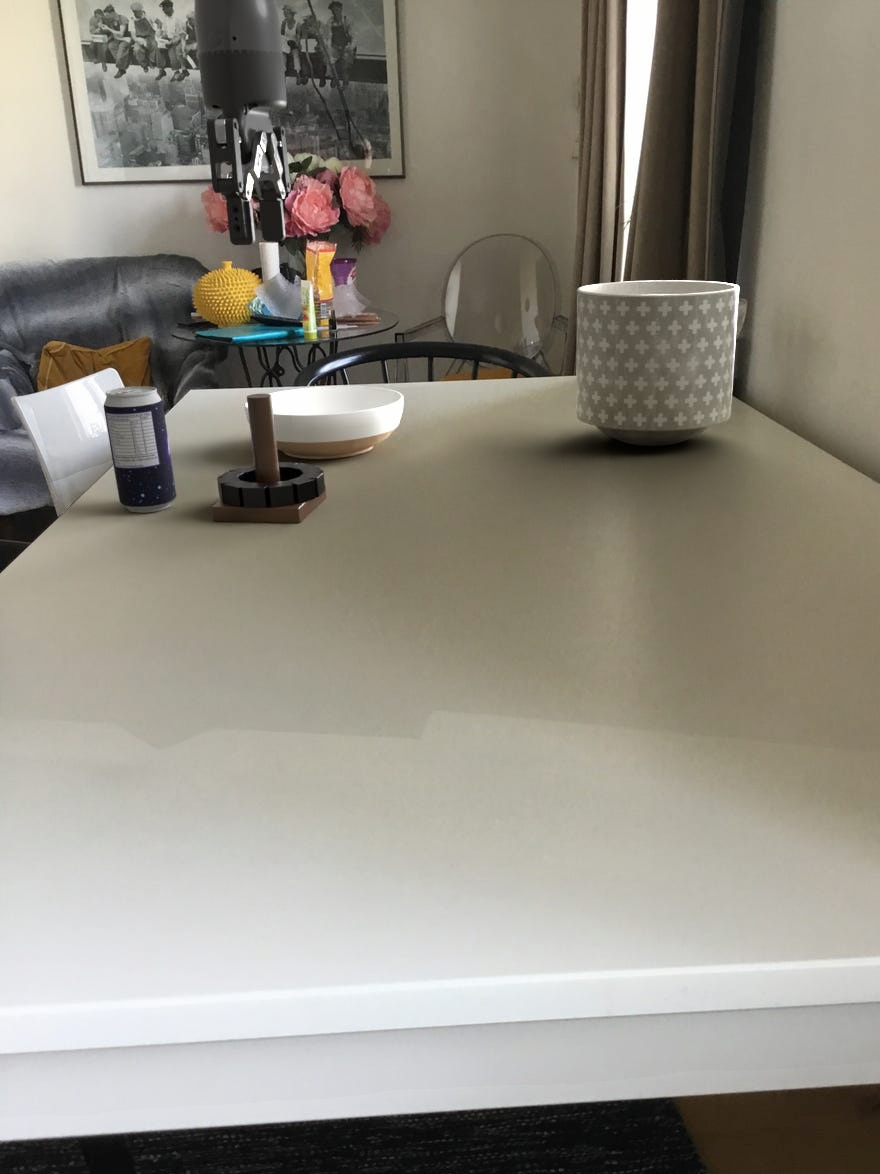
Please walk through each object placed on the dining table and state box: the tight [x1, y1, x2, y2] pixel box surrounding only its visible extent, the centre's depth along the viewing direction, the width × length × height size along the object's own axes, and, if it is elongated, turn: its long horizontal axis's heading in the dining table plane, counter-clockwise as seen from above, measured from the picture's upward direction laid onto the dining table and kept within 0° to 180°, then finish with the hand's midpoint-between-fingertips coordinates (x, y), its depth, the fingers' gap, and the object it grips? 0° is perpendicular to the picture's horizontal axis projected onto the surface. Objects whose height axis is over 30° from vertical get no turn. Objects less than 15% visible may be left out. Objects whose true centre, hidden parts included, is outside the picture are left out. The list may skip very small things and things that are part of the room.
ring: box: [216, 461, 326, 508], centre depth 107 cm, size 10×10×2 cm
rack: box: [210, 393, 327, 524], centre depth 105 cm, size 9×9×12 cm
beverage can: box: [103, 385, 177, 514], centre depth 107 cm, size 6×6×12 cm
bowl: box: [244, 385, 404, 460], centre depth 131 cm, size 20×20×6 cm
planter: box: [575, 280, 740, 447], centre depth 129 cm, size 19×19×18 cm
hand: (259, 242), depth 101 cm, fingers open, 8 cm apart
